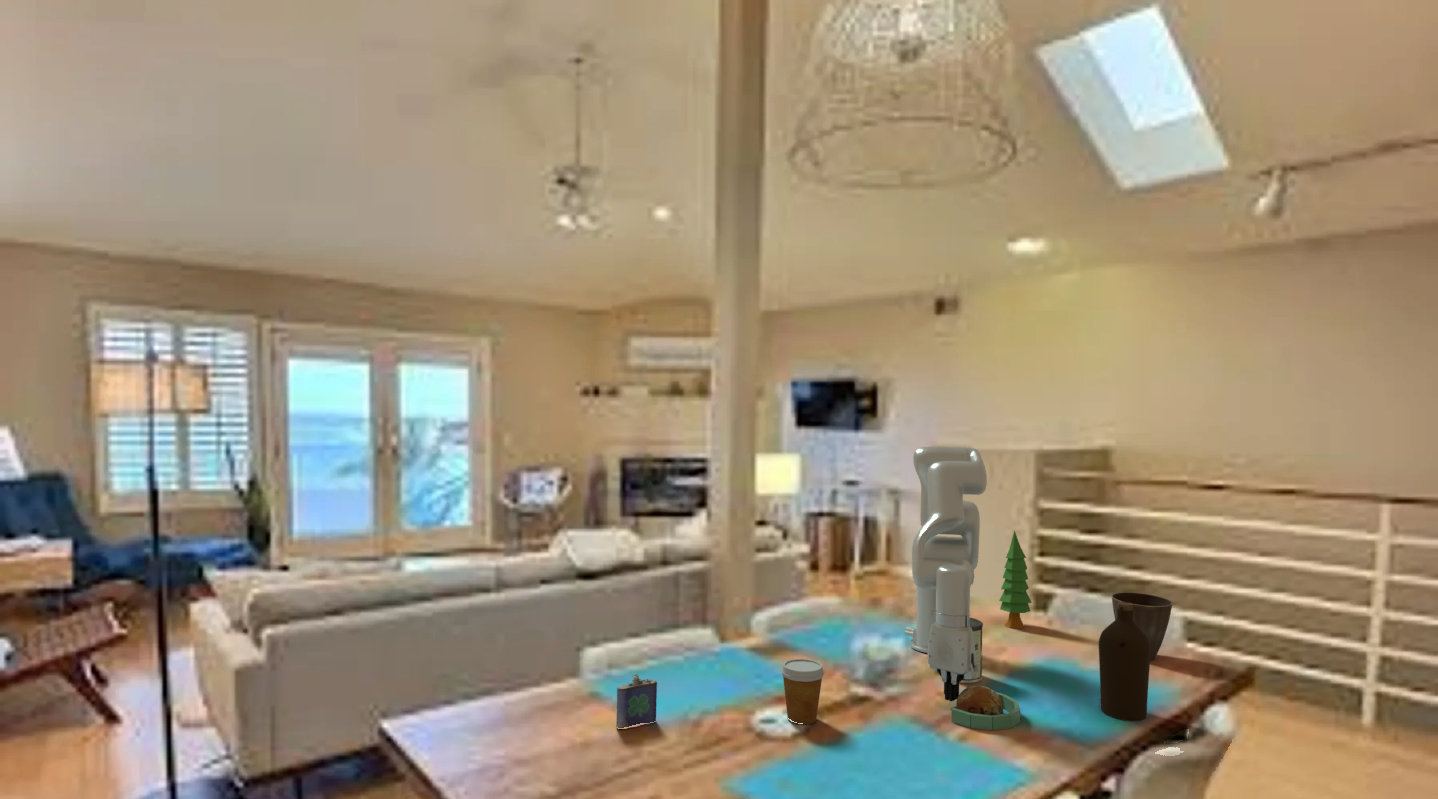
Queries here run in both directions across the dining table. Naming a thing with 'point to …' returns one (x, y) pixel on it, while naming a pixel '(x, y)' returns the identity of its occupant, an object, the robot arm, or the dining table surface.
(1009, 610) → the decorative tree
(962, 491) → the robot arm
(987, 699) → the bread roll
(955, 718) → the segmented green arc
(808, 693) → the disposable coffee cup
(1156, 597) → the plant pot
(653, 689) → the flask
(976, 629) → the coffee can
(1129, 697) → the olive oil
